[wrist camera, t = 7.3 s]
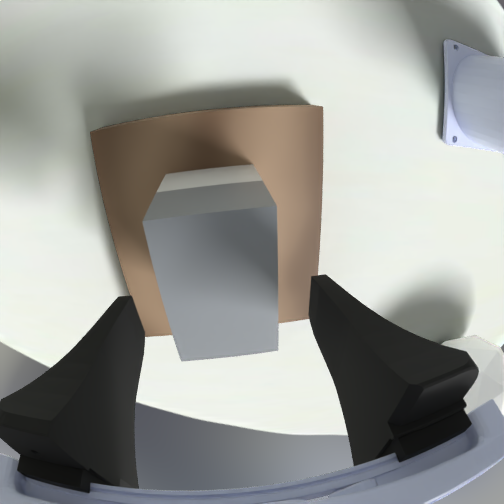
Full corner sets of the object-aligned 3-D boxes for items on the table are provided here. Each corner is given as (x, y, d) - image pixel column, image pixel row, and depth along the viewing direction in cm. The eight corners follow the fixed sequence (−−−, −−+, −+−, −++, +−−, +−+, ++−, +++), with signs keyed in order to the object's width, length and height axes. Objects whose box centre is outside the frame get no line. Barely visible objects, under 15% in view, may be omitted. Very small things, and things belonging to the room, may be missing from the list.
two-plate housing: (253, 164, 15) (277, 205, 10) (259, 277, 19) (278, 350, 14) (165, 173, 15) (142, 221, 10) (186, 285, 18) (181, 361, 13)
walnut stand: (311, 104, 16) (323, 106, 14) (306, 300, 23) (313, 317, 21) (102, 127, 15) (89, 132, 13) (149, 318, 22) (145, 336, 20)
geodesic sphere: (405, 446, 32) (488, 473, 19) (356, 438, 26) (472, 484, 14) (444, 351, 36) (529, 362, 24) (410, 313, 30) (528, 323, 18)
